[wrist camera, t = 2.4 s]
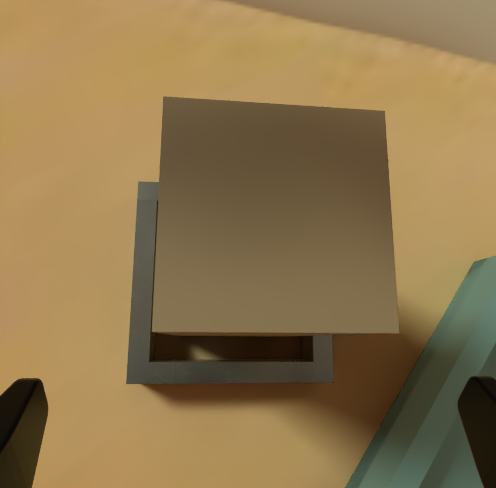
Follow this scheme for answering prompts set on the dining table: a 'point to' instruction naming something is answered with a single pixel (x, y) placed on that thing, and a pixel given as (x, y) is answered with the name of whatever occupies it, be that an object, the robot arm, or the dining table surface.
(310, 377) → the grey square bin
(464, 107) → the dining table surface
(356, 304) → the plate
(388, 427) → the tray
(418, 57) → the dining table surface
